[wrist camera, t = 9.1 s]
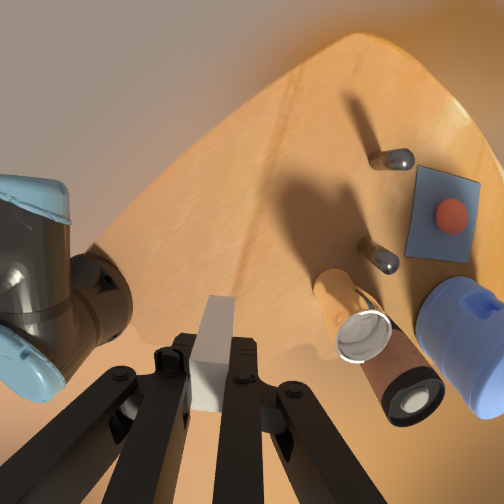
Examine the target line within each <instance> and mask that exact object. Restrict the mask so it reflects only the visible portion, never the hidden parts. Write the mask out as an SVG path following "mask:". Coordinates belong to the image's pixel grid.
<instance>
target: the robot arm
mask: <svg viewBox="0 0 504 504" xmlns="http://www.w3.org/2000/svg"><path fill="white" fill-rule="evenodd" d="M70 225H71V220H70V214H69V193H68V190H67V188H66V186H65V185H64V184H63V183H62V182H60V181H57V180H50V179H43V178H34V177H25V176H16V175H4V174H0V380H1V381H2V382H3V383H4V384H5V385H6V386H7V387H8V388H10V389H11V390H12V391H13V392H15V393H16V394H18V395H19V396H21V397H23V398H25V399H27V400H29V401H32V402H36V403H45V402H48V401H50V400H52V399H53V398H54V397H55V395H56V394H57V393H58V392H59V391H60V390H63V389H64V388H65V386H66V384H67V383H68V381H69V380H70V379H71V377H72V376H73V375H74V373H75V372H76V371H77V370H78V368H79V367H80V366H81V364H82V363H83V362H84V361H85V360H86V358H87V357H88V356H89V355H90V353H91V352H92V351H93V350H94V349H95V347H98V346H101V345H103V344H105V343H107V342H110V341H112V340H114V339H115V338H117V337H119V336H120V335H121V334H122V332H123V331H124V330H125V329H126V327H127V326H128V324H129V322H130V320H131V317H132V311H133V303H132V296H131V293H130V290H129V287H128V285H127V283H126V281H125V279H124V278H123V276H122V275H121V273H120V272H119V271H118V270H117V269H116V268H115V267H114V266H113V265H112V264H111V263H110V262H108V261H107V260H105V259H104V258H102V257H99V256H97V255H93V254H79V255H76V256H74V257H72V258H70ZM235 301H236V297H227V296H214V295H210V296H209V299H208V302H207V305H206V308H205V311H204V314H203V318H202V321H201V324H200V327H199V330H198V333H197V334H187V333H181V334H179V335H178V336H177V337H175V339H174V341H173V344H172V346H171V347H163V348H160V349H158V350H156V351H155V353H154V359H155V367H156V370H155V372H154V373H153V374H148V375H136V372H135V371H134V369H132V368H130V367H128V366H115V367H112V368H110V369H109V370H107V371H106V372H105V373H104V374H103V375H102V376H100V377H99V378H98V379H97V380H96V381H95V382H94V383H93V384H92V385H90V386H89V387H88V388H87V389H86V390H85V391H84V392H83V393H82V394H80V395H79V396H78V397H77V398H76V399H75V400H74V401H73V402H71V403H70V404H69V405H68V406H67V407H66V408H65V409H64V410H62V411H61V412H60V413H59V414H58V415H57V416H56V417H55V418H54V419H52V420H51V421H50V422H49V423H48V424H47V425H46V426H45V427H44V428H42V429H41V430H40V431H39V432H38V433H37V434H36V435H35V436H34V437H32V438H31V439H30V440H29V441H28V442H27V443H26V444H25V445H24V446H23V447H22V448H20V449H19V450H18V451H17V452H16V453H15V454H14V455H13V456H11V458H9V459H8V460H7V461H6V462H5V463H4V464H3V465H2V466H1V467H0V504H80V503H81V502H82V500H83V499H84V498H85V497H86V496H87V495H88V493H89V492H90V491H91V489H92V488H93V487H94V486H95V485H96V483H97V482H98V481H99V480H100V478H101V477H102V476H103V475H104V473H105V472H106V471H107V470H108V468H109V467H110V466H111V465H112V463H113V462H114V461H115V460H116V458H117V457H118V455H119V454H120V456H119V459H118V461H117V464H116V466H115V469H114V472H113V474H112V476H111V479H110V482H109V484H108V487H107V490H106V492H105V495H104V498H103V500H102V503H101V504H173V499H174V493H175V488H176V483H177V478H178V473H179V469H180V464H181V459H182V454H183V450H184V445H185V440H186V435H187V431H188V426H189V421H190V406H191V405H192V410H201V411H211V412H222V416H221V426H220V434H219V444H218V453H217V462H216V472H215V482H214V491H213V501H212V504H264V485H263V460H262V431H263V432H266V433H270V436H271V439H272V442H273V444H274V446H275V449H276V451H277V453H278V456H279V458H280V460H281V463H282V465H283V467H284V469H285V471H286V474H287V476H288V479H289V481H290V483H291V485H292V487H293V490H294V492H295V494H296V496H297V498H298V501H299V503H300V504H387V502H386V501H385V499H384V498H383V496H382V495H381V493H380V492H379V490H378V489H377V488H376V486H375V485H374V483H373V482H372V480H371V479H370V477H369V476H368V475H367V473H366V472H365V470H364V469H363V467H362V466H361V464H360V463H359V461H358V460H357V458H356V457H355V455H354V454H353V452H352V451H351V450H350V448H349V446H348V445H347V444H346V442H345V441H344V439H343V438H342V436H341V435H340V433H339V432H338V430H337V429H336V427H335V426H334V424H333V423H332V421H331V419H330V418H329V416H328V415H327V413H326V412H325V410H324V409H323V407H322V406H321V404H320V403H319V401H318V400H317V398H316V397H315V395H314V394H313V392H312V390H311V389H310V388H309V387H308V386H307V385H306V384H304V383H302V382H298V381H287V382H283V383H282V384H280V385H279V387H275V386H271V385H268V384H266V383H264V382H263V381H261V380H260V378H259V377H258V366H257V343H256V342H255V341H254V340H253V338H244V337H234V319H235Z"/></svg>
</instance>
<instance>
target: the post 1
mask: <svg viewBox="0 0 504 504" xmlns="http://www.w3.org/2000/svg"><path fill="white" fill-rule="evenodd" d="M414 162H415V159H414V155H413V153H412V152H411V151H410V150H409V149H406V148H403V149H396V150H389V151H382V152H376V153H373V154H371V156H370V157H369V164H370V166H371V167H372V168H373V169H374V170H410V169H411V168H412V167H413V166H414Z"/></svg>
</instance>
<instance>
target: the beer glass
mask: <svg viewBox="0 0 504 504" xmlns="http://www.w3.org/2000/svg"><path fill="white" fill-rule="evenodd" d="M313 293H314V296H315V298H316V300H317V301H318V302H319V303H320V304H321V305H322V315H323V322H324V326H325V329H326V332H327V334H328V336H329V338H330V340H331V342H332V344H333V345H334V347H335V348H336V350H337V353H338V354H339V355H340V357H342V358H343V359H344V360H346V361H349V362H353V363H361V362H366V361H369V360H371V359H373V358H375V357H376V356H378V355H379V354H380V353H381V352H382V351H383V350H384V349H385V348H386V347H387V345H388V343H389V341H390V339H391V335H392V325H391V322H390V320H389V318H388V317H387V316H386V314H385V313H384V311H383V309H382V308H381V306H380V305H379V304H378V303H377V301H376V300H375V299H374V298H373V297H372V296H371V295H370V294H369V293H367V292H366V291H364V290H363V289H361V288H359V287H357V286H355V285H353V283H352V280H351V278H350V276H349V275H348V274H347V273H346V272H345V271H343V270H340V269H329V270H326V271H324V272H323V273H321V274H320V275H319V276H318V278H317V279H316V281H315V283H314V287H313Z"/></svg>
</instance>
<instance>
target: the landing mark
mask: <svg viewBox="0 0 504 504" xmlns="http://www.w3.org/2000/svg"><path fill="white" fill-rule="evenodd" d="M480 185H481V184H479V183H476V182H473V181H470V180H467V179H463V178H460V177H457V176H453V175H450V174H447V173H443V172H439V171H436V170H432V169H428V168H425V167H421V166H418V167H417V178H416V187H415V195H414V203H413V210H412V216H411V223H410V229H409V235H408V240H407V246H406V251H405V256H409V257H418V258H426V259H435V260H444V261H453V262H461V263H468V259H469V255H470V250H471V245H472V240H473V235H474V229H475V223H476V217H477V210H478V203H479V194H480ZM446 199H457V200H459V201H460V202H461V203H462V204H463V205H464V206H465V208H466V210H467V213H468V222H467V225H466V227H465V228H464V230H463V231H462V232H460V233H458V234H455V235H450V234H447V233H445V232H443V231H442V230H441V229H440V228H439V226H438V224H437V222H436V210H437V208H438V206H439V204H440V203H441V202H442V201H444V200H446Z"/></svg>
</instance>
